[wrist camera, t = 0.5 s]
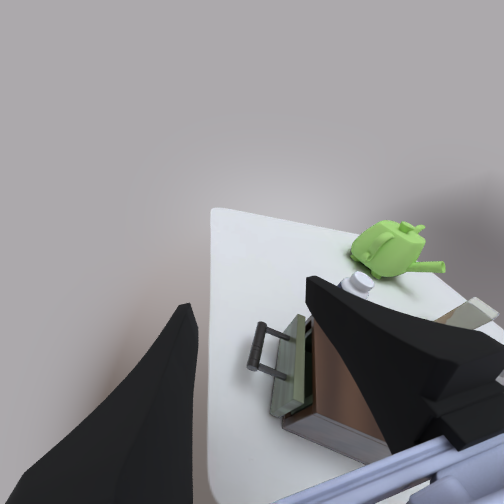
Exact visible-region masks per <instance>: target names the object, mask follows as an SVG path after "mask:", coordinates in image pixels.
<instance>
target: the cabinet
mask: <svg viewBox="0 0 504 504" xmlns="http://www.w3.org/2000/svg"><path fill="white" fill-rule="evenodd" d="M311 328H312V391H313V405H311V406H309V407H308V408H306V409H304V410H302V411H300V412H298V413H296V414H294V415H291V411H290V412H288V413H286V414H285V415H283V425H282V428H283V429H285V430H287V431H289V432H292V433H294V434H296V435H299V436H301V437H303V438H306V439H308V440H310V441H313V442H315V443H317V444H320V445H322V446H324V447H326V448H329V449H331V450H333V451H336V452H338V453H340V454H343V455H345V456H347V457H350V458H352V459H354V460H357V461H359V462H361V463H363V464H366V465H369V464H371V463H374V462H376V461H379V460H381V459H384V458H386V457H389V456H391V455H392V454H391V452H390V450H389V448H388V446H387V444H386V441H385V439H384V437H383V435H382V433H381V431H380V429H379V427H378V425H377V423H376V421H375V419H374V417H373V415H372V413H371V411H370V409H369V407H368V405H367V403H366V401H365V399H364V397H363V396H362V394H361V392H360V390H359V388H358V386H357V384H356V383H355V381H354V379H353V377H352V375H351V374H350V372H349V370H348V368H347V367H346V365H345V363H344V361H343V360H342V358H341V356H340V355H339V353H338V352H337V350H336V349H335V347H334V346H333V344H332V343H331V342H330V340H329V339H328V337H327V336H326V335H325V333H324V332H323V330H322V329H321V328H320V326H319V325H318V323H317V322H316V320H315V319H314V317H313V316H312V315H311V316H310V317H309V318H308V319H307V321H306V322H305V334H306V333H307V332H308V331H309V330H310V329H311Z"/></svg>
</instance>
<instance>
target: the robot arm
mask: <svg viewBox="0 0 504 504" xmlns="http://www.w3.org/2000/svg"><path fill="white" fill-rule="evenodd" d="M305 303H306V305H307V307H308V309H309V310H310V312H311V314H312V316H313V317H314V319H315V320H316V322H317V323H318V325H319V326H320V328H321V329H322V330H323V332H324V333H325V335H326V336H327V337H328V339H329V340H330V342H331V343H332V344H333V346H334V347H335V349H336V350H337V352H338V353H339V355H340V356H341V358H342V360H343V361H344V363H345V365H346V367H347V368H348V370H349V372H350V374H351V375H352V377H353V379H354V381H355V383H356V384H357V386H358V388H359V390H360V392H361V394H362V396H363V397H364V399H365V401H366V403H367V405H368V407H369V409H370V411H371V413H372V415H373V417H374V419H375V421H376V423H377V425H378V427H379V429H380V431H381V433H382V435H383V437H384V439H385V441H386V444H387V446H388V448H389V450H390V452H391V454H392V455H391V456H389V457H386V458H384V459H381V460H379V461H376V462H374V463H371V464H369V465H366V466H364V467H361V468H358V469H356V470H353V471H351V472H348V473H346V474H343V475H341V476H338V477H336V478H333V479H331V480H328V481H326V482H323V483H321V484H318V485H316V486H313V487H310V488H308V489H305V490H303V491H300V492H298V493H295V494H293V495H290V496H288V497H285V498H283V499H280V500H278V501H275V502H273V503H270V504H375V503H377V502H379V501H382V500H384V499H386V498H389V497H391V496H393V495H396V494H398V493H400V492H403V491H405V490H407V489H409V488H412V487H414V486H416V485H419V484H421V483H423V482H426V481H428V480H430V479H431V480H430V485H428V486H427V487H425V488H423V489H421V490H420V491H418V492H416V493H414V494H413V495H411V496H410V498H409V501H408V502H407V503H406V504H504V386H503V385H502V384H500V383H499V382H498V381H496V378H497V377H498V376H499V375H500V374H501V372H502V371H503V370H504V345H503V344H501V343H499V342H498V341H496V340H495V339H493V338H491V337H490V336H488V335H487V334H485V333H483V332H481V331H476V330H471V329H466V328H461V327H456V326H451V325H446V324H442V323H438V322H433V321H429V320H425V319H422V318H418V317H414V316H411V315H408V314H404V313H401V312H398V311H395V310H392V309H389V308H386V307H383V306H380V305H378V304H375V303H373V302H370V301H368V300H365V299H363V298H361V297H358V296H356V295H354V294H352V293H350V292H348V291H345V290H343V289H341V288H339V287H337V286H335V285H333V284H332V283H330V282H328V281H326V280H324V279H322V278H320V277H317V276H311V277H306V300H305ZM197 354H198V326H197V323H196V320H195V317H194V314H193V311H192V308H191V304H190V303H186V304H182V305H179V306H178V307H177V309H176V310H175V312H174V313H173V315H172V317H171V318H170V320H169V321H168V323H167V324H166V326H165V327H164V329H163V330H162V332H161V333H160V335H159V337H158V338H157V339H156V341H155V342H154V343H153V345H152V346H151V347H150V349H149V350H148V351H147V353H146V354H145V355H144V357H143V358H142V359H141V360H140V362H139V363H138V364H137V365H136V366H135V368H134V369H133V370H132V371H131V372H130V373H129V374H128V376H127V377H126V378H125V379H124V380H123V381H122V382H121V383H120V384H119V385H118V386H117V387H116V388H115V389H114V391H113V392H112V393H111V394H110V395H109V396H108V397H107V398H106V399H105V400H104V401H103V402H102V403H101V404H100V405H99V406H98V407H97V408H96V409H95V410H94V411H93V412H92V413H91V414H90V415H89V416H88V417H87V418H85V419H84V420H83V421H82V422H81V423H80V424H79V425H78V426H77V427H76V428H75V429H74V430H73V431H71V433H69V434H68V435H67V436H66V437H65V438H64V439H63V440H61V441H60V442H59V443H58V444H57V445H56V446H55V447H53V448H52V449H51V450H50V451H49V452H48V453H46V454H45V455H44V456H43V457H42V458H41V459H40V460H38V461H37V462H36V463H35V464H34V465H33V466H32V467H30V468H29V469H28V470H27V471H26V472H24V474H23V475H22V477H21V478H20V480H19V482H18V483H17V485H16V487H15V488H14V490H13V492H12V493H11V495H10V497H9V498H8V500H7V502H6V503H5V504H193V485H192V484H193V482H192V418H193V391H194V381H195V372H196V363H197Z"/></svg>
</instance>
